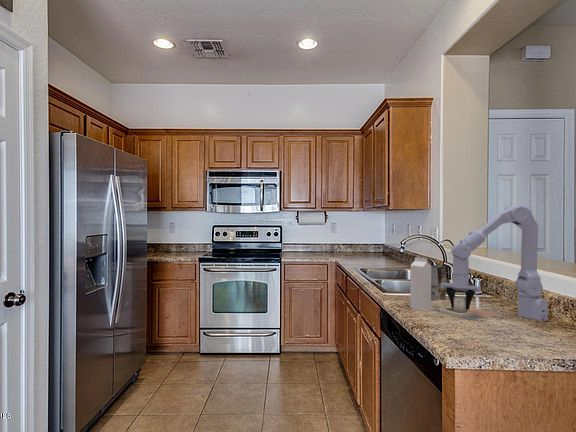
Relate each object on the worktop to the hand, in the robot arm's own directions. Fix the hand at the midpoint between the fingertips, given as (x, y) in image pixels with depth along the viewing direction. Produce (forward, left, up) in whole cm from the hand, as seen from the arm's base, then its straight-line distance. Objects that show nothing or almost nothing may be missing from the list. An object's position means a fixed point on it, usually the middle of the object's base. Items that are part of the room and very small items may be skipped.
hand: (460, 308), depth 155 cm
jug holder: (0, -3, -3) cm, 4 cm away
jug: (+1, -1, -2) cm, 2 cm away
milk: (+13, +8, -3) cm, 16 cm away
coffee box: (+25, -15, -3) cm, 29 cm away
